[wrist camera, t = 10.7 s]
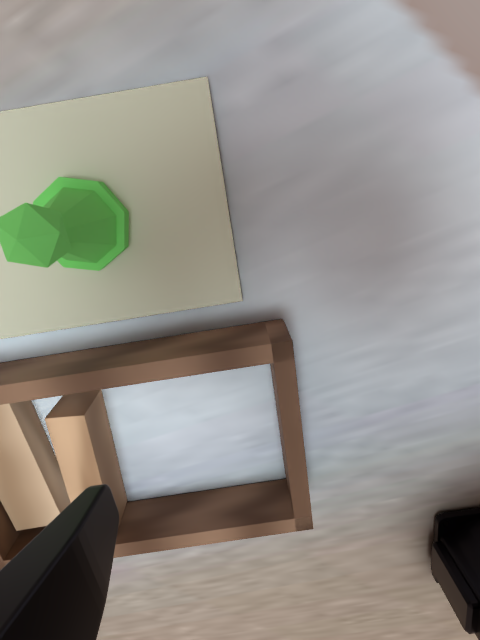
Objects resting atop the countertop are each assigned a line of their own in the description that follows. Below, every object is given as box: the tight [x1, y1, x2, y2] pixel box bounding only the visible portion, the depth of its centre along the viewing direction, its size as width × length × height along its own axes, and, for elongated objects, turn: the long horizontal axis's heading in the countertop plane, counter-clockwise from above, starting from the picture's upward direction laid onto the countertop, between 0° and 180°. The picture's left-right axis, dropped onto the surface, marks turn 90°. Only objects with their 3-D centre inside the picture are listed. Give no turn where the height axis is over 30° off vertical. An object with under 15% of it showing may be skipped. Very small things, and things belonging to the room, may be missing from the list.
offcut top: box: [45, 389, 127, 528], centre depth 21 cm, size 3×8×2 cm
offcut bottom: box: [0, 400, 70, 531], centre depth 21 cm, size 3×9×2 cm, turn 10°
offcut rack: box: [0, 319, 313, 570], centre depth 20 cm, size 19×12×3 cm, turn 99°
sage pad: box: [0, 77, 243, 339], centre depth 17 cm, size 14×10×1 cm
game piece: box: [0, 177, 129, 271], centre depth 14 cm, size 4×4×6 cm
